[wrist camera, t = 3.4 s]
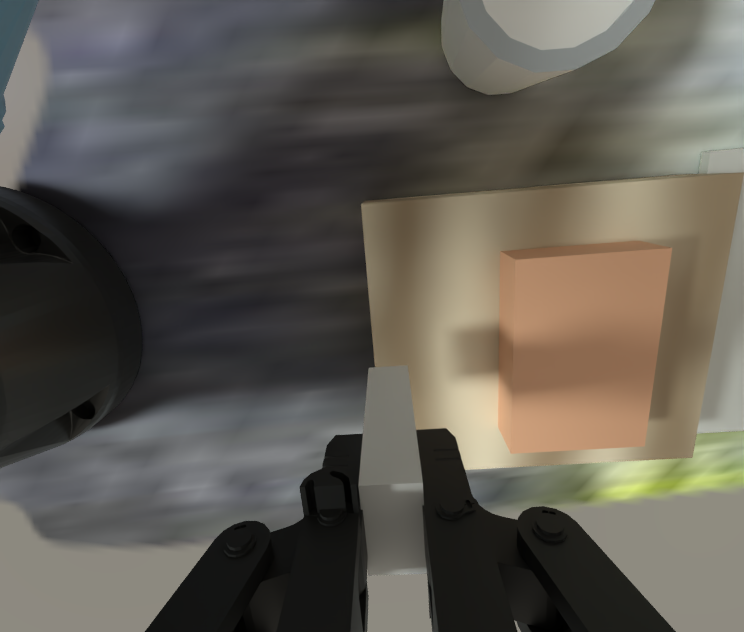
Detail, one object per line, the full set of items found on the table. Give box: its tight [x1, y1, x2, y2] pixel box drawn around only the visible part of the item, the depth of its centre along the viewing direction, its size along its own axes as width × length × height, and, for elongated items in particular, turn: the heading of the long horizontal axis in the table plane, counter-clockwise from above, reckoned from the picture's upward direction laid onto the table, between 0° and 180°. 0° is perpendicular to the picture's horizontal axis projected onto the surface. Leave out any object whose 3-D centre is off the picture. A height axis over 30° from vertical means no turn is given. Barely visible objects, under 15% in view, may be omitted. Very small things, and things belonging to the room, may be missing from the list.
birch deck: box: [361, 172, 744, 470], centre depth 21 cm, size 16×14×4 cm
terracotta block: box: [498, 241, 672, 454], centre depth 18 cm, size 6×9×2 cm, turn 5°
